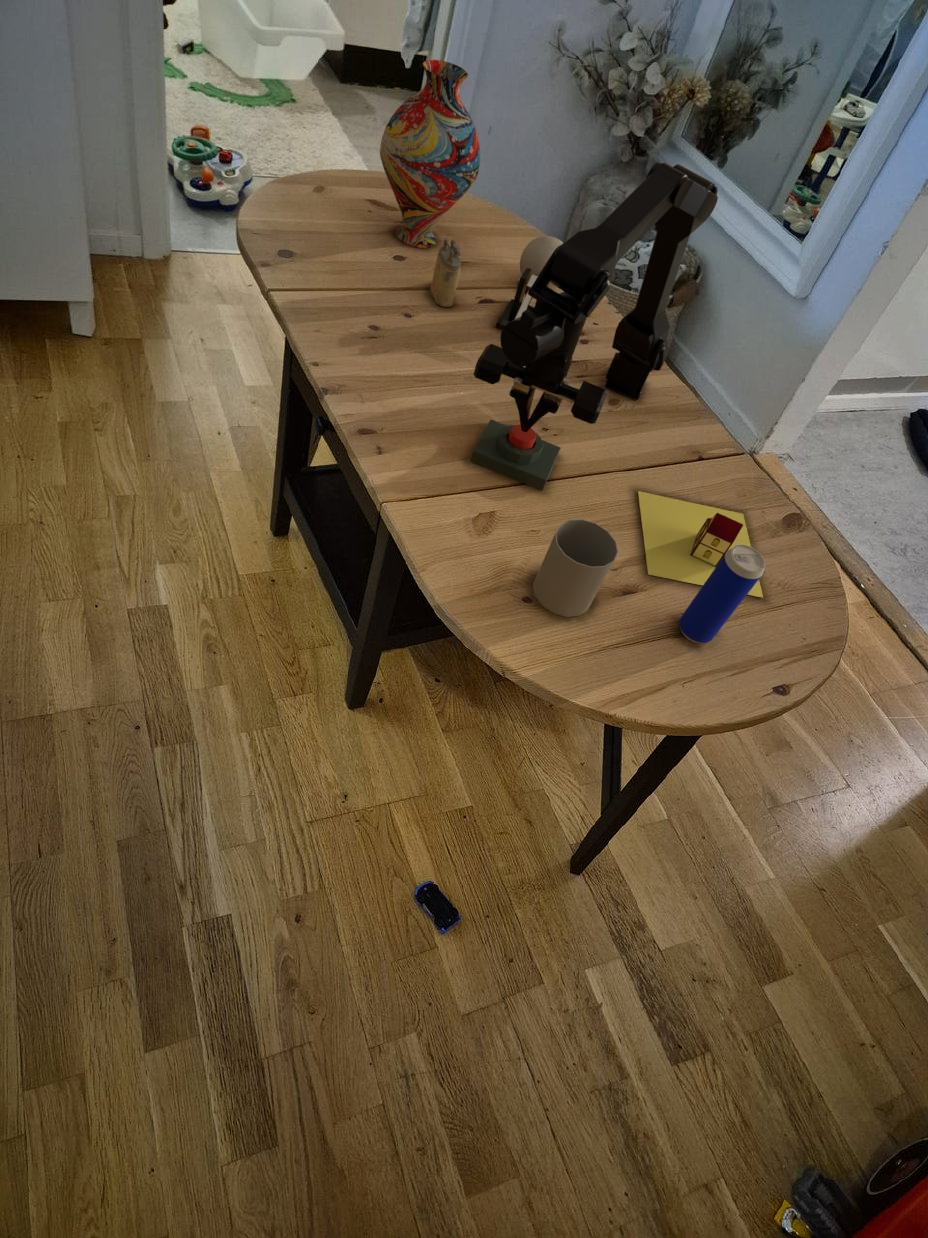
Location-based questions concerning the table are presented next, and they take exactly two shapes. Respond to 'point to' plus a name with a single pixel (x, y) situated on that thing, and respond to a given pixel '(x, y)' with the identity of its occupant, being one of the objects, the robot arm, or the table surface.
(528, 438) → the button
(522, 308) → the lever
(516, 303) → the tap bracket
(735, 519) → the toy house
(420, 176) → the vase
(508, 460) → the button box
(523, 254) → the ball
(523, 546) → the table surface
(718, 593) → the beverage can
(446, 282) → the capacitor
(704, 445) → the table surface
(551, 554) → the cup
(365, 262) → the table surface
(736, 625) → the table surface
